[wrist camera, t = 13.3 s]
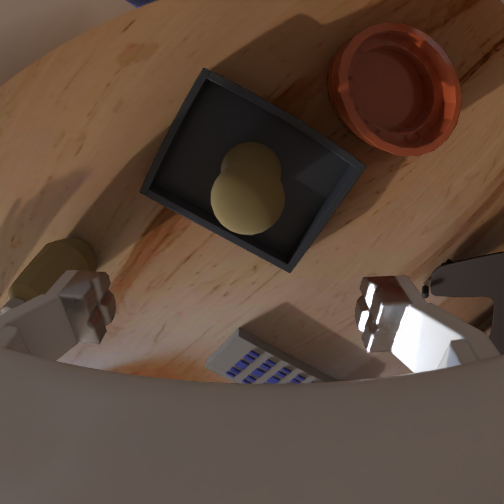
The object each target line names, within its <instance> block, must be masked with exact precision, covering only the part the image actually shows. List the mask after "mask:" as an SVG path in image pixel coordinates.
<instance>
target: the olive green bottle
mask: <svg viewBox="0 0 504 504" xmlns="http://www.w3.org/2000/svg"><path fill="white" fill-rule="evenodd" d="M281 170H282V168H281V164H280V161H279V158H278V157H277V155H276V154H275V152H274V151H273V150H271V149H270V148H269V147H268V146H266V145H264V144H261V143H258V142H244V143H241V144H237V145H236V146H234V147H233V148H231V149H230V150H229V151H228V152H227V154H226V155H225V156H224V158H223V161H222V164H221V174H220V175H219V176H218V177H217V179H216V180H215V182H214V185H213V188H212V191H211V205H212V208H213V211H214V214H215V216H216V218H217V219H218V220H219V222H220V223H221V224H222V225H223V226H224V227H226V228H227V229H229V230H230V231H233V232H235V233H238V234H245V235H253V234H257V233H261V232H263V231H265V230H267V229H268V228H270V227H272V226H273V224H274V223H275V222H276V221H277V220H278V219H279V217H280V215H281V213H282V211H283V208H284V204H285V193H284V189H283V185H282V182H281V181H280V179H281Z"/></svg>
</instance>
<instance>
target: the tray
mask: <svg viewBox="0 0 504 504" xmlns="http://www.w3.org/2000/svg"><path fill="white" fill-rule="evenodd" d="M244 142H258V143H261V144H264V145H266V146H268V147H269V148H270V149H271V150H273V151H274V152H275V154H276V155H277V157H278V158H279V161H280V164H281V168H282V170H281V179H280V181H281V182H282V185H283V189H284V193H285V204H284V208H283V211H282V213H281V215H280V217H279V219H278V220H277V221H276V222H275V223H274V224H273V226H272V227H270V228H268V229H267V230H265V231H263V232H261V233H257V234H253V235H245V234H238V233H235V232H233V231H230V230H229V229H227V228H226V227H224V226H223V225H222V224H221V223H220V222H219V220H218V219H217V218H216V216H215V214H214V211H213V208H212V205H211V191H212V188H213V185H214V182H215V180H216V179H217V177H218V176H219V175H220V174H221V164H222V161H223V158H224V156H225V155H226V154H227V152H228V151H229V150H230V149H231V148H233V147H234V146H236V145H237V144H241V143H244ZM365 168H366V165H365V164H364V163H362V162H361V161H359V160H358V159H357V158H355V157H354V156H353V155H351V154H350V153H348V152H347V151H346V150H344V149H343V148H341V147H340V146H338V145H337V144H335V143H334V142H333V141H331V140H330V139H328V138H327V137H325V136H324V135H322V134H321V133H319V132H318V131H316V130H314V129H313V128H311V127H310V126H308V125H307V124H305V123H304V122H302V121H300V120H299V119H297V118H295V117H294V116H292V115H291V114H289V113H287V112H286V111H284V110H282V109H281V108H279V107H277V106H276V105H274V104H272V103H270V102H269V101H267V100H265V99H263V98H262V97H260V96H258V95H256V94H254V93H253V92H251V91H249V90H247V89H245V88H243V87H241V86H240V85H238V84H236V83H234V82H232V81H230V80H228V79H226V78H224V77H222V76H220V75H218V74H216V73H214V72H212V71H210V70H208V69H206V68H203V69H202V71H201V73H200V74H199V76H198V78H197V79H196V81H195V83H194V85H193V86H192V88H191V90H190V92H189V93H188V95H187V97H186V99H185V100H184V102H183V104H182V106H181V108H180V110H179V111H178V113H177V115H176V117H175V119H174V121H173V123H172V125H171V127H170V129H169V130H168V132H167V134H166V136H165V138H164V140H163V142H162V144H161V146H160V148H159V150H158V153H157V155H156V157H155V159H154V161H153V163H152V165H151V167H150V170H149V172H148V174H147V176H146V178H145V181H144V183H143V185H142V187H141V190H140V193H141V194H143V195H145V196H147V197H148V198H150V199H152V200H154V201H156V202H158V203H160V204H161V205H163V206H165V207H167V208H169V209H171V210H173V211H175V212H176V213H178V214H180V215H182V216H184V217H186V218H188V219H189V220H191V221H193V222H195V223H197V224H199V225H201V226H203V227H204V228H206V229H208V230H210V231H212V232H214V233H216V234H218V235H219V236H221V237H223V238H225V239H227V240H229V241H231V242H232V243H234V244H236V245H238V246H240V247H242V248H244V249H246V250H247V251H249V252H251V253H253V254H255V255H257V256H259V257H261V258H262V259H264V260H266V261H268V262H270V263H272V264H274V265H275V266H277V267H279V268H281V269H283V270H285V271H287V272H288V273H291V271H292V270H293V269H294V267H295V266H296V265H297V263H298V262H299V261H300V259H301V258H302V257H303V255H304V254H305V252H306V251H307V250H308V248H309V247H310V246H311V244H312V243H313V241H314V240H315V239H316V237H317V236H318V235H319V233H320V232H321V230H322V229H323V228H324V226H325V225H326V223H327V222H328V221H329V219H330V218H331V216H332V215H333V214H334V212H335V211H336V209H337V208H338V207H339V205H340V204H341V202H342V201H343V199H344V198H345V197H346V195H347V194H348V192H349V191H350V189H351V188H352V186H353V185H354V184H355V182H356V181H357V179H358V178H359V176H360V175H361V173H362V172H363V170H364V169H365Z"/></svg>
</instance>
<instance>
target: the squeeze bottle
mask: <svg viewBox="0 0 504 504" xmlns="http://www.w3.org/2000/svg"><path fill="white" fill-rule="evenodd" d="M66 270H80V271H81V270H82V271H95V270H96V257H95V255H94V253H93V251H92V249H91V248H90V247H89V246H88V244H87V243H85V242H84V241H82V240H80V239H78V238H73V237H71V238H67V239H62V240H57V241H54V242H51V243H48V244H46V245H45V246H44V248H43V249H42V250H41V251H40V252H39V253H38V254H37V255H36V257H35V258H34V259H33V260H32V261H31V262H30V263H29V265H28V266H27V267H26V268H25V269H24V271H23V272H22V273H21V274H20V275H19V277H18V278H17V279H16V280H15V282H14V283H13V284H12V285H11V287H10V288H9V290H8V302H7V303H6V304H5V305H4V306H3V308H2V309H1V314H3V313H5V312H7V311H9V310H11V309H13V308H15V307H17V306H19V305H21V304H23V303H25V302H27V301H29V300H31V299H33V298H35V297H37V296H39V295H41V294H46V293H47V292H48V290H49V289H50V288H51V287H52V286H53V285H54V284H55V282H56V281H57V280H58V279H59V278H60V277H61V276H62V275H63V274H64V273H65V271H66Z"/></svg>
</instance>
